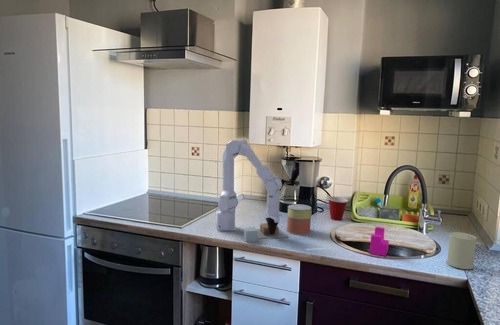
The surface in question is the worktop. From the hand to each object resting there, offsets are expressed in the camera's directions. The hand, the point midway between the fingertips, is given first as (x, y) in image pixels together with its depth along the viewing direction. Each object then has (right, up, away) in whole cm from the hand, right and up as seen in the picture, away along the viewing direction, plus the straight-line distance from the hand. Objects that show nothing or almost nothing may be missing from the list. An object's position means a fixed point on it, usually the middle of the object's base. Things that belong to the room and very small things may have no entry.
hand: (271, 233), depth 173 cm
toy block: (+45, -5, -12) cm, 47 cm away
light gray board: (-1, -1, +4) cm, 4 cm away
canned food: (+13, -1, +9) cm, 16 cm away
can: (+71, -7, -27) cm, 77 cm away
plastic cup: (+37, +1, +31) cm, 48 cm away
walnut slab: (-1, 0, +5) cm, 5 cm away
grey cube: (-10, -2, -6) cm, 12 cm away
